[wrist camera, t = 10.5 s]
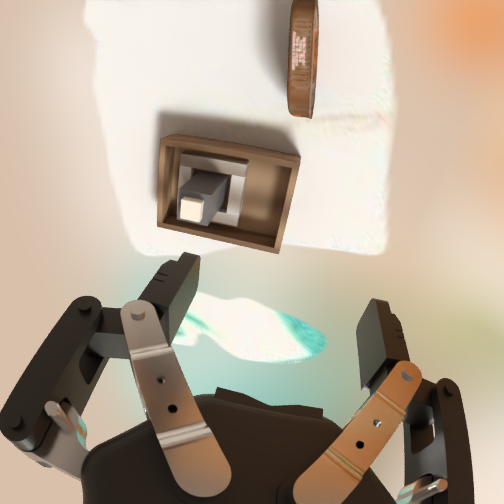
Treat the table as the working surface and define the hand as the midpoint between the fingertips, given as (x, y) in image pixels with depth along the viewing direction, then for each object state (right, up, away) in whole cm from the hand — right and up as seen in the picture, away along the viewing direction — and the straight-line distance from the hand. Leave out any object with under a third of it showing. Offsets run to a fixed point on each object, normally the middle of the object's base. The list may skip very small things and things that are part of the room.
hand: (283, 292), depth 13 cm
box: (-5, +11, +29) cm, 31 cm away
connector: (-7, +11, +28) cm, 31 cm away
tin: (+5, +26, +18) cm, 32 cm away
